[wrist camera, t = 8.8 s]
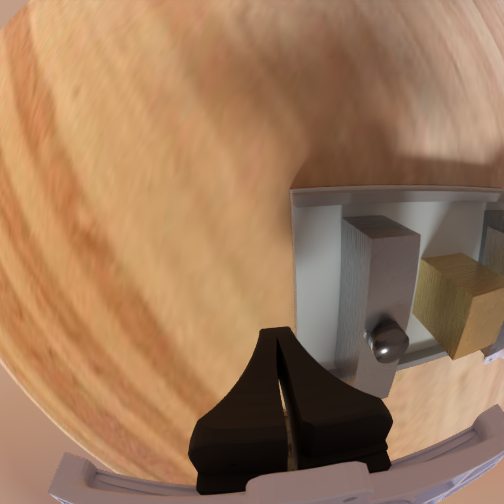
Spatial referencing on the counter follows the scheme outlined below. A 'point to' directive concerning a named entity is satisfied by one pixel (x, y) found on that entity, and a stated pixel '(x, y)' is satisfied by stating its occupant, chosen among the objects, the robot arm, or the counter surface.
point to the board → (398, 209)
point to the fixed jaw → (493, 260)
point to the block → (459, 303)
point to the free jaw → (374, 300)
